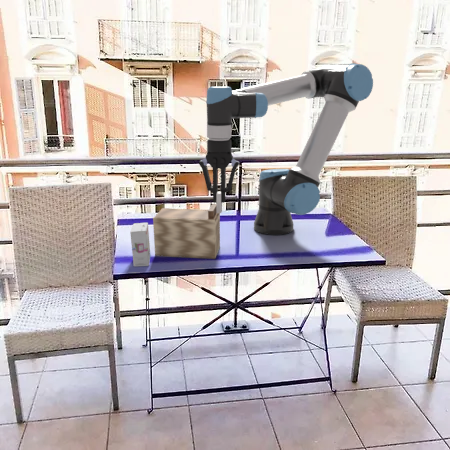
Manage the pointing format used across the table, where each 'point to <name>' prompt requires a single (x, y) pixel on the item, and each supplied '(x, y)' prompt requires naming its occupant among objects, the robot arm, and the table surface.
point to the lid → (189, 213)
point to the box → (186, 237)
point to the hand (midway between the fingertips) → (219, 211)
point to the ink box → (140, 244)
